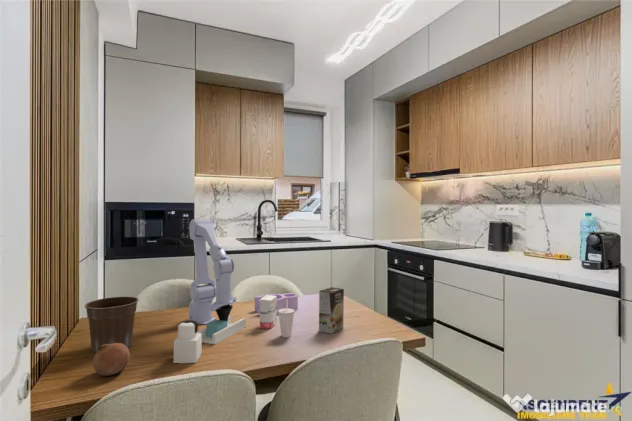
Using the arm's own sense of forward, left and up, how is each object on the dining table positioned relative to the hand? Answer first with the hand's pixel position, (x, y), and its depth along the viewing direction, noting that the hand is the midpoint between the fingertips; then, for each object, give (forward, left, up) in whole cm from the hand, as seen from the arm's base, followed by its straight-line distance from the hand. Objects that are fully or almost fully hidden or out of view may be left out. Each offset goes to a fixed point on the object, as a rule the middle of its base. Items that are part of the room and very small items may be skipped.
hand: (223, 324), depth 136 cm
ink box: (+12, +14, -4) cm, 19 cm away
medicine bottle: (+3, -24, -4) cm, 24 cm away
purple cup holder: (+6, +35, -4) cm, 36 cm away
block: (0, -4, -2) cm, 5 cm away
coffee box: (+38, +19, -4) cm, 43 cm away
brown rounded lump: (-11, -40, -4) cm, 41 cm away
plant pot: (-28, -26, -4) cm, 38 cm away
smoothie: (+24, +6, -4) cm, 25 cm away
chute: (0, -1, -3) cm, 3 cm away
